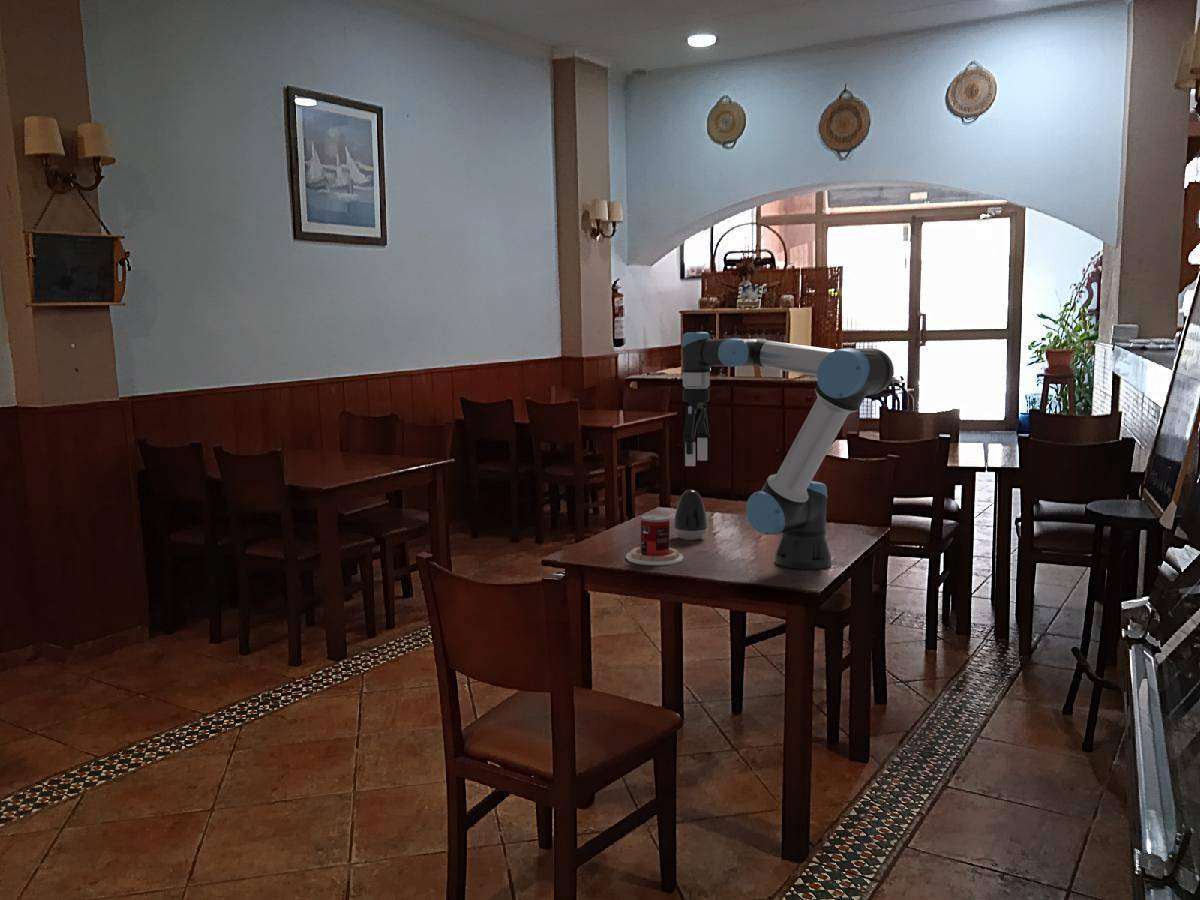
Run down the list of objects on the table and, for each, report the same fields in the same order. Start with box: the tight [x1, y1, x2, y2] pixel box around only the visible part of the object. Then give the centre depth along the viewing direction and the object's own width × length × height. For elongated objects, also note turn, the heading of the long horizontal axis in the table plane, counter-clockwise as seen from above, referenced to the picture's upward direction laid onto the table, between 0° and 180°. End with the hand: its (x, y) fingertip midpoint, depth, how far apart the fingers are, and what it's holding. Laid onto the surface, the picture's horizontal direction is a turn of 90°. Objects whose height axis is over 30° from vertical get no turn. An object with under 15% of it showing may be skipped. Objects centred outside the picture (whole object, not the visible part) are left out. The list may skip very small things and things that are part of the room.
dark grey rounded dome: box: [673, 489, 708, 541], centre depth 292 cm, size 10×10×15 cm
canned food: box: [640, 514, 671, 556], centre depth 267 cm, size 8×8×11 cm
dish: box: [625, 546, 684, 567], centre depth 267 cm, size 16×16×2 cm
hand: (696, 463), depth 270 cm, fingers open, 13 cm apart
